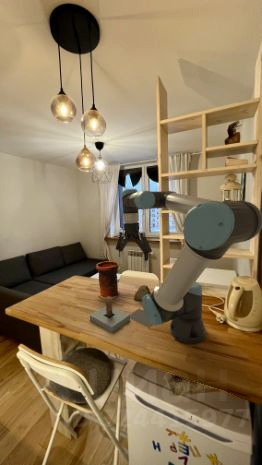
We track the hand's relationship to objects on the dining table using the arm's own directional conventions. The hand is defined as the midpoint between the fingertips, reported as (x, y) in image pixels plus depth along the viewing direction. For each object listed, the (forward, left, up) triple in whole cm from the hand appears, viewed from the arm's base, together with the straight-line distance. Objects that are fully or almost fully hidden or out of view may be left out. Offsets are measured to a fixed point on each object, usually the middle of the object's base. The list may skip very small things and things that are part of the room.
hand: (133, 265), depth 96 cm
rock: (+8, -16, -27) cm, 33 cm away
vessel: (+30, -9, -27) cm, 41 cm away
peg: (+8, +11, -27) cm, 30 cm away
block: (+8, +11, -27) cm, 30 cm away
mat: (-4, -1, -27) cm, 27 cm away
